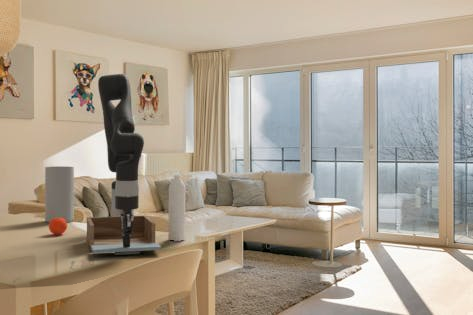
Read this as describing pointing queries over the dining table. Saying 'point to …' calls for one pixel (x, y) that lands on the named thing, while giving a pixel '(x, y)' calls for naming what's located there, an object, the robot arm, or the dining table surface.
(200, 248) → the dining table surface
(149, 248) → the rectangular panel
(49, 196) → the cylinder vase
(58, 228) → the clementine
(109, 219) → the crate
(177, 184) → the water bottle
